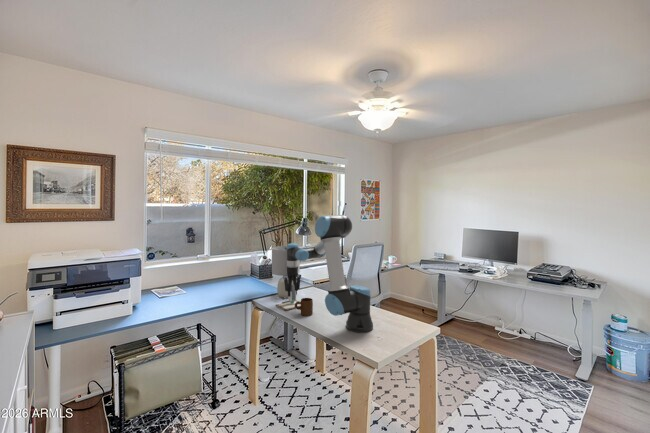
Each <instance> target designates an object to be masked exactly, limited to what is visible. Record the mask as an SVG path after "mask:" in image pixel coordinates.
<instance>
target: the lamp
mask: <svg viewBox="0 0 650 433" xmlns="http://www.w3.org/2000/svg"><path fill="white" fill-rule="evenodd" d="M298 248H300V246H298ZM300 262H301V261H300V260H298V274H300V272H301V271H300V268H301V267H300V264H301V263H300ZM271 273H272V274H273V275H275V276H282V277H280V279H279V280H278V282H277V284H276V285H277V287H276V290H277V292H276V293H277V295H278V296H279V297H280V298H281V299H282V298H284V299H289V296H288V291H285V283H284V278H283V277H286V276H287V245H280V246H273V247H272V248H271ZM287 280H288V279H287ZM292 284H293V280H292Z"/></svg>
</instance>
